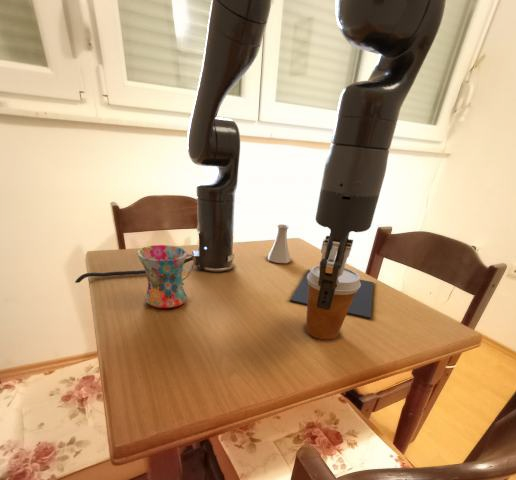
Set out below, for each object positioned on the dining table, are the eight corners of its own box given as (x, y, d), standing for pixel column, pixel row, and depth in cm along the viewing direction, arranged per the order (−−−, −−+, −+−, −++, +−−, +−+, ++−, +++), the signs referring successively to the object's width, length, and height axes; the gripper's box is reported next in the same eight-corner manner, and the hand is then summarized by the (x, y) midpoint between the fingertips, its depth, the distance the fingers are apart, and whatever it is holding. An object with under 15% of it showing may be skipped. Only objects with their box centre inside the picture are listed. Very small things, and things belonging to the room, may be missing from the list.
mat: (370, 319, 67) (370, 317, 67) (290, 301, 71) (290, 299, 71) (372, 283, 85) (373, 282, 85) (308, 270, 89) (308, 269, 89)
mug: (157, 316, 61) (151, 263, 55) (135, 298, 66) (128, 248, 60) (208, 301, 68) (207, 253, 62) (185, 286, 73) (182, 240, 67)
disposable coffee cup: (348, 325, 64) (364, 269, 57) (343, 349, 56) (361, 288, 50) (303, 315, 66) (313, 260, 59) (292, 337, 58) (302, 276, 52)
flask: (292, 258, 97) (297, 224, 92) (288, 265, 91) (293, 230, 86) (269, 254, 98) (273, 221, 93) (264, 261, 92) (268, 226, 87)
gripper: (329, 179, 46) (308, 287, 56) (312, 189, 36) (291, 319, 46) (380, 186, 45) (350, 296, 55) (379, 199, 34) (342, 332, 44)
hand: (323, 306), depth 50 cm, fingers closed
